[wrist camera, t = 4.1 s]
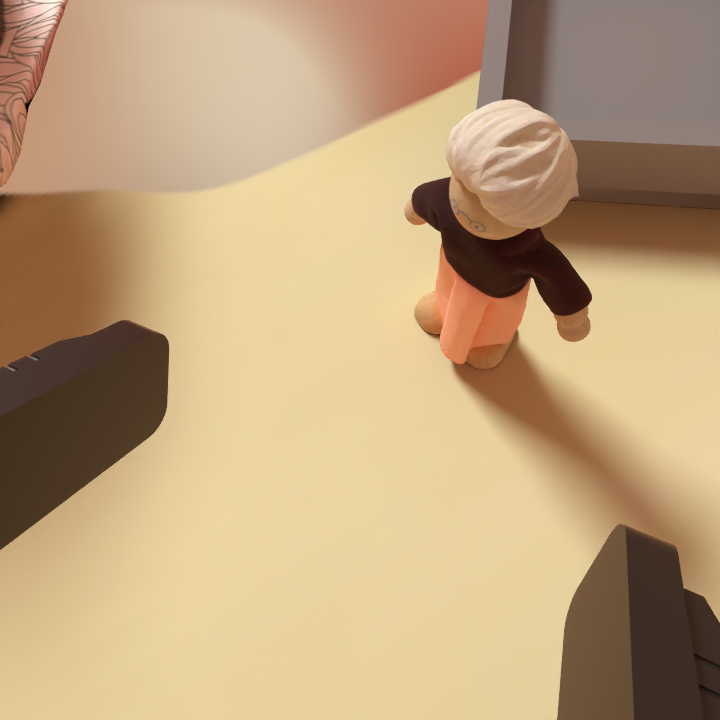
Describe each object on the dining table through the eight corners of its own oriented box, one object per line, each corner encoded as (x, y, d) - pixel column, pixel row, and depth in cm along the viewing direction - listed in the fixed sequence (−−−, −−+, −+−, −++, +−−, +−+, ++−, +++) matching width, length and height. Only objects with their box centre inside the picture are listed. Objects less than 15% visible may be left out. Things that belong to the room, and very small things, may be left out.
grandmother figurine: (377, 326, 25) (327, 126, 13) (422, 259, 26) (413, 13, 14) (534, 414, 23) (642, 272, 11) (577, 339, 24) (723, 130, 12)
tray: (771, -54, 29) (821, -143, 25) (793, 213, 24) (859, 152, 21) (495, -51, 31) (504, -133, 28) (467, 193, 27) (473, 135, 23)
